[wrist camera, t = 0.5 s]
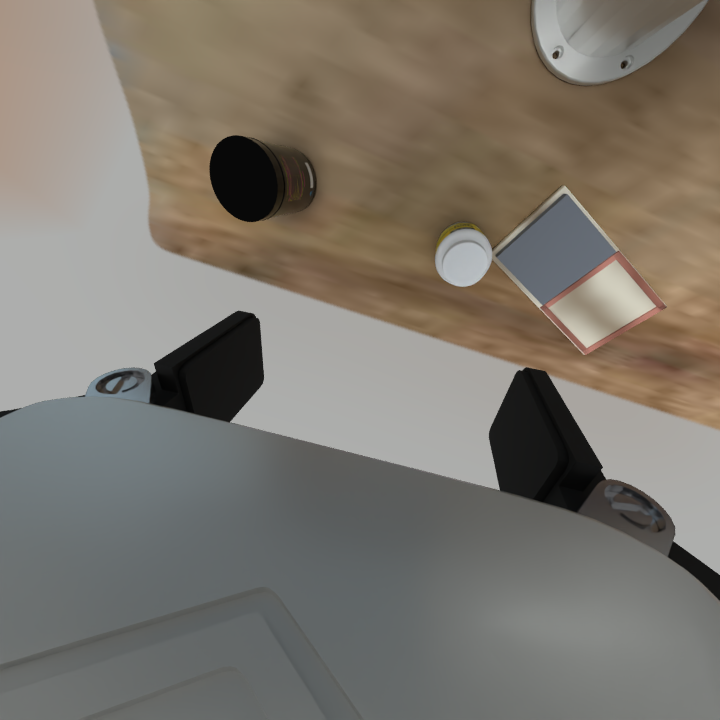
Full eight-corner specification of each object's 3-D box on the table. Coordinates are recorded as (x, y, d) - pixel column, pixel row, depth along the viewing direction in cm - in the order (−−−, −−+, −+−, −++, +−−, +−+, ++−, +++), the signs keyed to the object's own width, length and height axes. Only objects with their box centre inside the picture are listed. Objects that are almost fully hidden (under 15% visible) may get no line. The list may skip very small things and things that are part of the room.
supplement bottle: (472, 210, 33) (483, 220, 25) (491, 254, 35) (507, 277, 26) (427, 237, 35) (424, 254, 27) (447, 277, 37) (450, 304, 29)
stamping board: (562, 185, 30) (565, 185, 29) (662, 303, 33) (668, 307, 32) (487, 254, 35) (488, 255, 34) (581, 352, 38) (585, 355, 37)
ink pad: (563, 193, 30) (567, 194, 29) (610, 249, 31) (616, 251, 30) (494, 255, 34) (496, 257, 33) (539, 302, 35) (542, 305, 34)
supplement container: (255, 159, 35) (195, 152, 26) (305, 136, 33) (257, 121, 24) (279, 219, 38) (231, 231, 29) (325, 202, 36) (289, 209, 27)
